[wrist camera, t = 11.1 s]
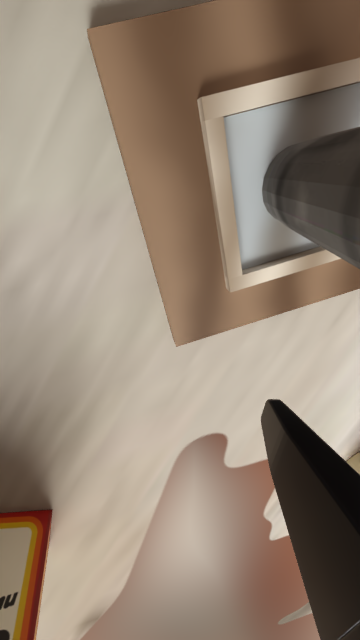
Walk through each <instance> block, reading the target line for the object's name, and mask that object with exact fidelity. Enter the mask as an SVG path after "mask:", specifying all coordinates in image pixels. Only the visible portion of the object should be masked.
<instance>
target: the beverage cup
mask: <svg viewBox="0 0 360 640" xmlns="http://www.w3.org/2000/svg"><path fill="white" fill-rule="evenodd" d="M262 196H263V202H264V205H265V207H266V209H267V211H268V212H269V213H270V214H271V215H272V216H273V217H274V218H275V219H277V220H279V221H280V222H282V223H283V224H284V225H285V226H286V227H288V228H290V229H291V230H293V231H295V232H296V233H298V234H300V235H302V236H303V237H305V238H307V239H308V240H310V241H312V242H314V243H315V244H317V245H319V246H321V247H322V248H324V249H326V250H327V251H329V252H331V253H333V254H334V255H336V256H338V257H340V258H341V259H343V260H345V261H346V262H348V263H350V264H352V265H353V266H355V267H357V268H358V269H360V127H356V128H352V129H348V130H344V131H340V132H336V133H332V134H328V135H324V136H320V137H316V138H313V139H310V140H307V141H304V142H301V143H298V144H294V145H291V146H288V147H287V148H285V149H284V150H283V151H281V152H280V153H279V154H277V156H276V157H275V158H274V159H273V161H272V162H271V163H270V165H269V167H268V169H267V171H266V174H265V176H264V180H263V186H262Z"/></svg>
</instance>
